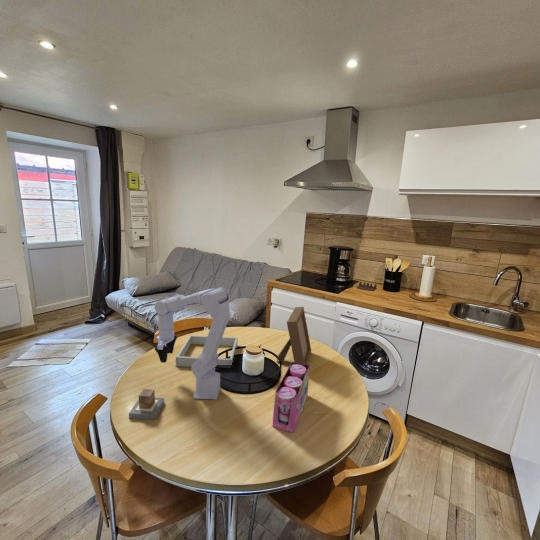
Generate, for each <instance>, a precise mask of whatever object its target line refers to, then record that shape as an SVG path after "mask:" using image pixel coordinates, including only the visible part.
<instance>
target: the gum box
mask: <svg viewBox="0 0 540 540" xmlns="http://www.w3.org/2000/svg"><path fill="white" fill-rule="evenodd" d="M310 368H311V365H309V364H308V365H306V364H302V363H297V362H294V361H291V362H290V364H289V366H288V367H287V370H286V372H285V373H284V375H283V377H282V379H281V381H280V383H279V384H278V386H277V388H276V390H275V392H274V406H273V415H272V427H274V428H277V429H279V430H283V431H286V432H290V433H295V430H296V427H297V425H298V422H299V419H300V416H301V413H302V411H303V408H304V406H305V404H306V402H307V397H308V390H309V380H310V379H309V378H310Z"/></svg>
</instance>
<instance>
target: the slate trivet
mask: <svg viewBox="0 0 540 540" xmlns="http://www.w3.org/2000/svg"><path fill="white" fill-rule="evenodd" d="M164 404H165V398H164V397H155V402H154V404H153V405H152V407H151V409H144V408H139V398H138V399H137V400H136V402H135V404H134V405H133V407H132V408H131V410H130V411H129V413H128V419H135V420H136V419H139V420H156V418H157V416H158V415H159V414H160V411H161V410H162V408H163V405H164Z"/></svg>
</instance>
